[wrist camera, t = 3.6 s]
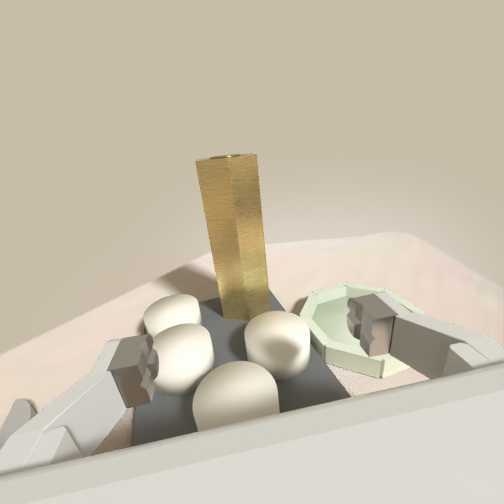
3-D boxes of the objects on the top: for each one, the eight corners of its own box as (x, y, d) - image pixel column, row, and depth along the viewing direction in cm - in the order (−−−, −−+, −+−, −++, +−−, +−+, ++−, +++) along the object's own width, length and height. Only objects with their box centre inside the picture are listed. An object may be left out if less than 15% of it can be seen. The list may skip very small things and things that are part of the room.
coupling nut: (280, 303, 23) (269, 150, 18) (237, 329, 21) (210, 159, 15) (251, 287, 26) (235, 153, 21) (211, 307, 24) (181, 160, 19)
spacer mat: (466, 564, 9) (486, 527, 8) (101, 818, 6) (53, 815, 5) (266, 291, 27) (264, 268, 26) (147, 323, 24) (139, 298, 23)
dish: (453, 349, 18) (458, 332, 17) (347, 392, 16) (348, 375, 15) (365, 289, 25) (366, 276, 25) (286, 312, 23) (285, 299, 23)
